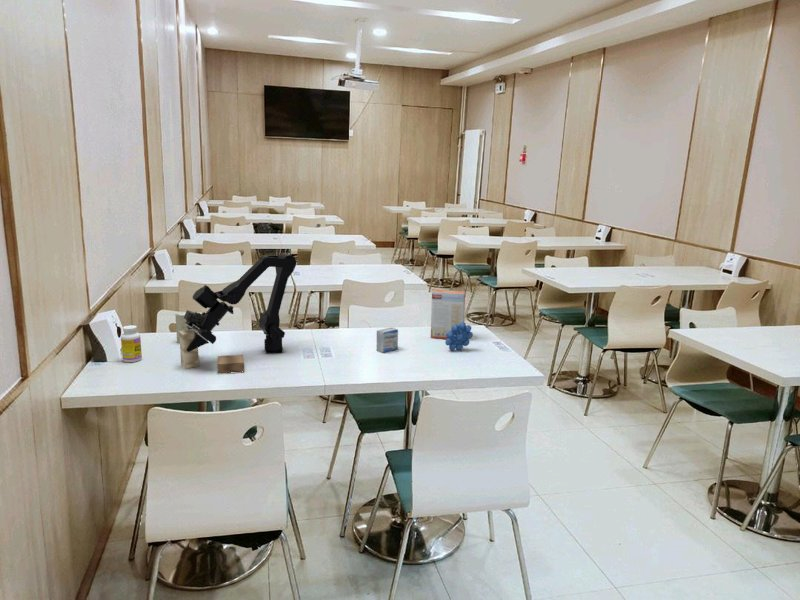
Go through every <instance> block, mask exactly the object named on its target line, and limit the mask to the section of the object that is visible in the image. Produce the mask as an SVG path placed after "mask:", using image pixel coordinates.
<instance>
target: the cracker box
mask: <svg viewBox="0 0 800 600" xmlns="http://www.w3.org/2000/svg"><path fill="white" fill-rule="evenodd" d="M465 311H466V291H462V290H461V291H460V290H448V289H447V290H446V289H433V290H432V292H431V313H430V314H431V315H430V338H431V339H438V340H439V339H441V340H446V339H448V338H447V336H446V334H447V332H448V331H452V329H451V328H452V326H453V325H455V324H456V325H458V326H459V324H460V323H462V322H464V323H465V314H466V313H465Z"/></svg>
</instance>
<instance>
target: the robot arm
mask: <svg viewBox="0 0 800 600" xmlns="http://www.w3.org/2000/svg"><path fill="white" fill-rule="evenodd" d="M296 266H297V259H296V257H295V256H293V255H291V254H288V253H285V252H282V253H280V254H278V255H275V254H274V255H262V256H260V257H259V259H258V260H257V261H256V262H255V263H254V264H252V266H251V267H250V268H249V269H248V270H247V271H246V272H245V273H244V274H242V275H241V276H240V278H238V279H237V280H236V281H234V282H231V283H230V284H228V285H227V286H226V287H224V288H222V290H219V291H218V290H217V291H213V290H212V289H211V288H210V287H209V286H208V285H207V284H203V287H200V288H198V289H197V290H196V291H195V292H194V293H193V295H192V300H194V301H195V302H196V303H198V304H199V305H200V306H201V307H202V308H203V309H208V310H207V311H206V312H205V311H203V312H202V313H200V312H197V311H191V310H188V309H187V310H186V311H185V312H186V314H185V316H184V319H186V320H187V321H186V322H185V323H186V324H188V325H189V327H188V326H187V328H188V330H190V329H194V330H195V331H196V332H197V333H196V332H194V339H193V340H192V342H191V343H190V345H189V346H188V348H187V351H188V352H190V351H192V350H194V349H196V348H198V349H199V348H200V347H202V346H204V345H207V344H210V343H211V344H212V345H214V343H216V341H217V337H216V335H215V334H213V332H212V331H213V330H214V328H215V327H216V326H218V327H219V326H220V322H221V320H222V319H223V318H224V316H226V314H227V313H230V314H232V315H233V314H234V305H237V304H239V303H240V302H241V300H242V299H243V298H244V296H245V294H246V291H247V290H248V288H249V287H251V285H252V284H253V283H254V282H256V280H257V279H258V278H259V277H260V276H261V275H262V274H263V273H264V272H265V271H266V270H268V268H270V267H272V268H275V278H274V283H273V286H272V290H271V292H270V293H271V294H270V297H269V300H268V305H267V309H266V310H265V311H264V312H260V314H259V318H258V321H257V323H258V327H259V329H260V330H261V331H262V332H263V334H264V335H265V338H264V340H263V342H264V351H265V354H280V353H284V352H283V349H284V348H283V338H284V337H285V335H286V332H285V331H284V330H283V329H282V328H280V323H281V320H280V309H281V305H282V301H283V298H284V296H285V291H286V287H287V283H288V280H289V278H290V276H291V275H292V274H293V273H294V271H295V268H296ZM219 300H220V301H219ZM227 303H228V304H229V305H228V304H227Z"/></svg>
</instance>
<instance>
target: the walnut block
mask: <svg viewBox="0 0 800 600" xmlns="http://www.w3.org/2000/svg"><path fill="white" fill-rule="evenodd" d="M244 357H245V356H244V354H229V355H218V356H217V365H216V366H217V367H216V368H217V374H218V373H226V374H232V373H231V372H241V373H243V372H242V371H244V372H245V359H244Z"/></svg>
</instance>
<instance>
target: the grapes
mask: <svg viewBox="0 0 800 600" xmlns="http://www.w3.org/2000/svg"><path fill="white" fill-rule="evenodd" d="M451 329H452V331H448V332H447V334H446V336H447V338H448V339H445V342H444V344H445V345H446V346H448V348H449V350H450V351H455V350H456V351H462V350H463V348H464V347H467V346H469V344H470V340H471V339H472V338H473V336H474V333H473V331H472V326H471V325H470V324H469V325H468V324H466V322H465V321H464V322H462V323H460V324H459V326H458V325H456V324H455V325H453V326H452V328H451Z"/></svg>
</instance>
